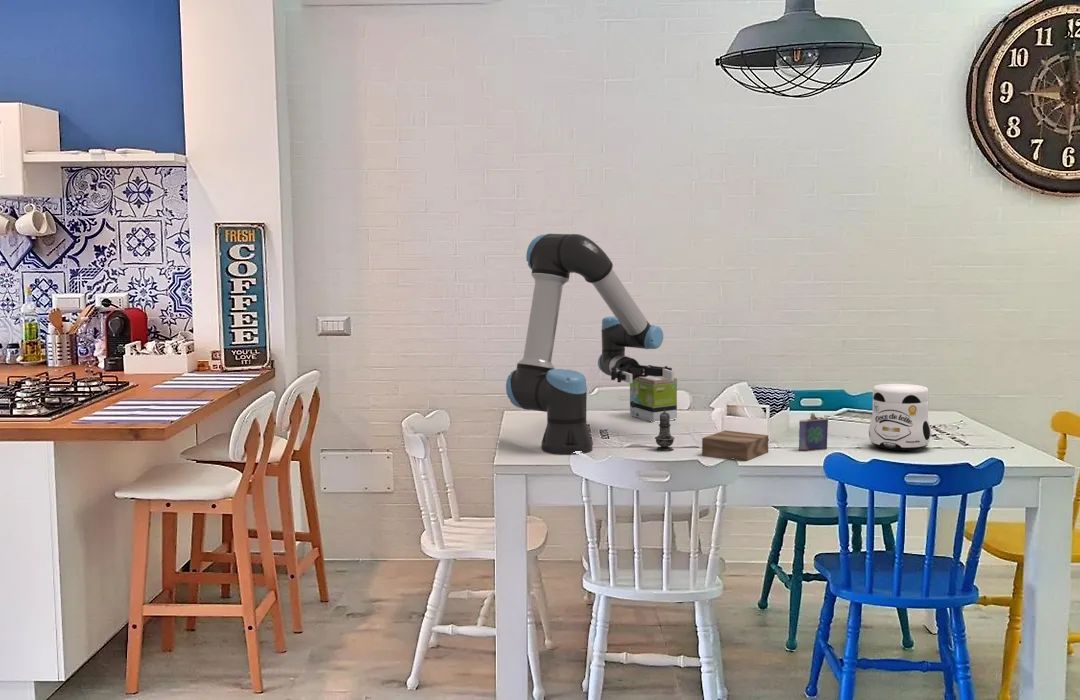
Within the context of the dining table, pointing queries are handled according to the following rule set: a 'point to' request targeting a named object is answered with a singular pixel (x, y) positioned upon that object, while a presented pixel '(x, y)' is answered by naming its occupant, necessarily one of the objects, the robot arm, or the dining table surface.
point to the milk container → (900, 417)
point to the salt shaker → (664, 433)
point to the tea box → (653, 397)
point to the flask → (813, 433)
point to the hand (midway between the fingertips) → (652, 377)
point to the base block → (735, 445)
